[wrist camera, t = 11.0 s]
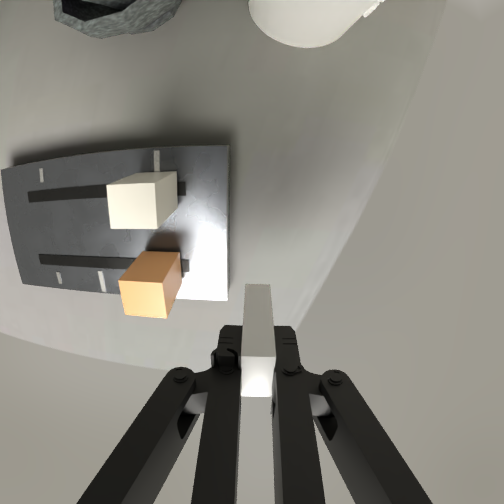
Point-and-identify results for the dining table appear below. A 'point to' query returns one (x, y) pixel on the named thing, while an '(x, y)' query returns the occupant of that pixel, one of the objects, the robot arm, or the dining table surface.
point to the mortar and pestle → (114, 15)
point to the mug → (308, 19)
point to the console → (98, 222)
